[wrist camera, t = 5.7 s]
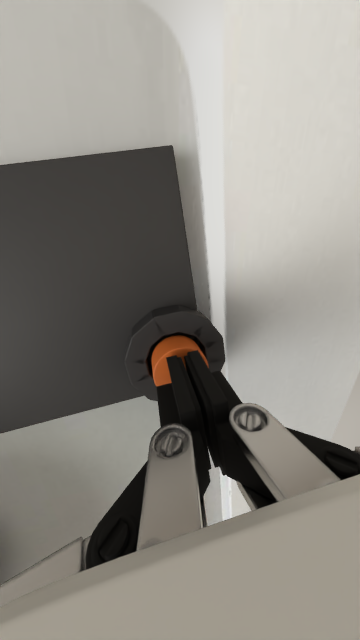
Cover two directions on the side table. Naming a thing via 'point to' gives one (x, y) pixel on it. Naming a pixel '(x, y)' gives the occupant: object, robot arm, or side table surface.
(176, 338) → the button
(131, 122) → the side table surface
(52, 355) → the scale
